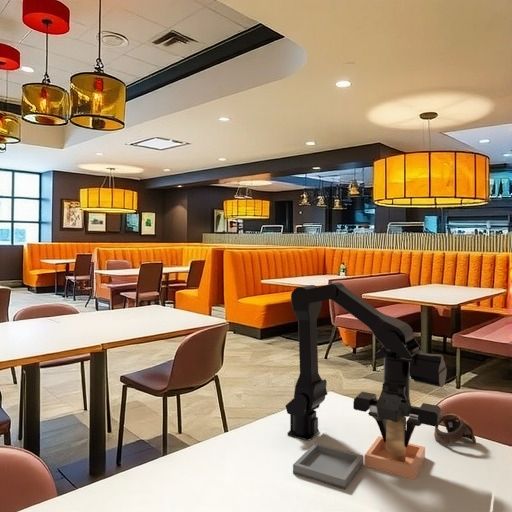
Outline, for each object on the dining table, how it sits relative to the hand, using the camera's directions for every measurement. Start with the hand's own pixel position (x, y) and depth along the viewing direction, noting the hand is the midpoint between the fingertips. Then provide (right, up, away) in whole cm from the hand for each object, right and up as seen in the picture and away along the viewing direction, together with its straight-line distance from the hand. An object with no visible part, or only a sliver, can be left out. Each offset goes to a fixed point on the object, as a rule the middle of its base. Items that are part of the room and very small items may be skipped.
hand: (395, 444), depth 103 cm
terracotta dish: (0, -5, 0) cm, 5 cm away
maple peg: (0, -4, 0) cm, 4 cm away
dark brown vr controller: (+18, -4, +11) cm, 22 cm away
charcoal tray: (-16, -5, -3) cm, 17 cm away
